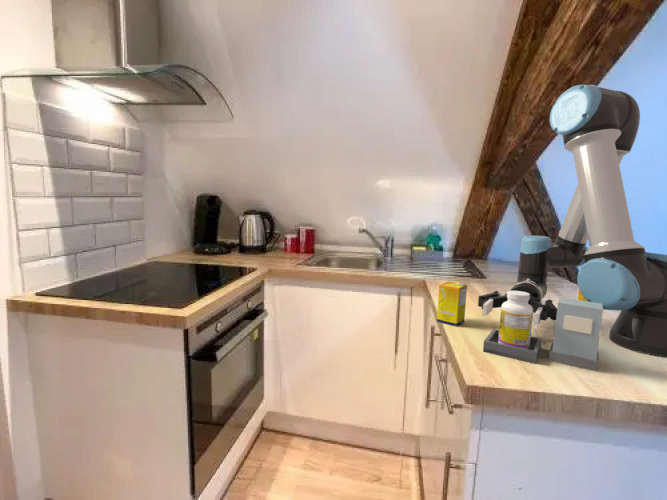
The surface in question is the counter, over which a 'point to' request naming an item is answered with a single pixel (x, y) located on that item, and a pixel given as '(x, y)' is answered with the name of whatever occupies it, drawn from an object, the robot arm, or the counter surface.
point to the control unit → (577, 333)
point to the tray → (512, 348)
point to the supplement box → (451, 303)
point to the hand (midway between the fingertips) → (509, 314)
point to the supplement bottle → (516, 320)
